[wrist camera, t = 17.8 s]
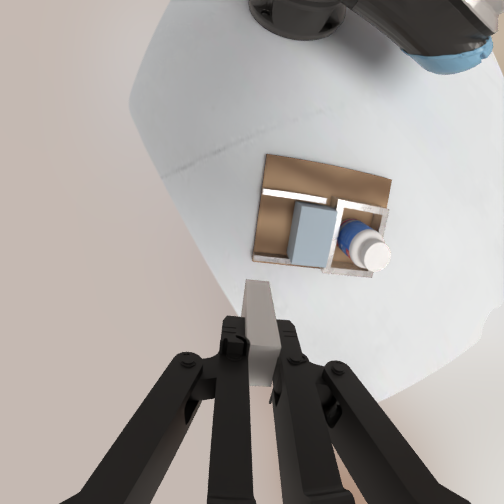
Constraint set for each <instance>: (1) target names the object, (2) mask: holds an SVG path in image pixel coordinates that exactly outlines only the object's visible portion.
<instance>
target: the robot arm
mask: <svg viewBox="0 0 504 504" xmlns="http://www.w3.org/2000/svg"><path fill="white" fill-rule="evenodd" d="M346 6H347V7H348V8H350V9H351V10H353V11H354V12H355V13H357V14H358V15H360V16H361V17H363V18H364V19H365V20H367V21H368V22H369V23H371V24H372V25H373V26H375V27H376V28H377V29H379V30H380V31H381V32H382V33H384V34H385V35H386V36H387V37H388V38H390V39H391V40H392V41H393V42H394V43H395V44H397V45H398V46H399V47H400V49H401V50H402V51H403V52H404V53H405V54H407V55H409V56H410V57H412V58H413V59H414V60H415V61H416V62H417V63H418V64H419V65H420V66H421V67H423V68H424V69H425V70H427V71H430V72H432V73H435V74H441V75H448V74H455V73H459V72H463V71H466V70H468V69H471V68H473V67H475V66H477V65H478V64H480V63H481V59H485V58H487V57H488V56H489V55H490V53H491V52H492V48H493V42H492V38H491V35H493V34H495V33H496V32H498V16H499V14H501V13H503V12H504V0H249V8H250V11H251V13H252V15H253V16H254V18H255V19H256V20H257V21H258V22H259V23H260V24H261V25H262V26H263V27H265V28H266V29H268V30H269V31H271V32H273V33H275V34H277V35H280V36H283V37H286V38H290V39H295V40H317V39H321V38H324V37H327V36H329V35H330V34H332V33H333V32H335V31H336V30H337V28H338V27H339V26H340V25H341V23H342V22H343V20H344V17H345V13H346ZM272 380H273V390H272V394H271V397H270V401H269V404H271V402H272V403H273V412H274V420H275V421H274V422H275V431H276V440H277V450H278V459H279V469H280V477H281V478H280V479H281V487H282V498H283V504H355V500H354V497H353V495H352V493H351V492H350V491H349V490H346V489H344V488H343V485H342V482H341V478H340V474H339V470H338V466H337V462H336V458H335V454H334V450H333V447H332V444H333V446H334V448H335V449H336V451H337V453H338V455H339V456H340V458H341V460H342V461H343V463H344V465H345V467H346V468H347V470H348V472H349V473H350V475H351V476H352V478H353V480H354V482H355V483H356V485H357V487H358V488H359V490H360V492H361V493H362V495H363V497H364V498H365V500H366V502H367V503H368V504H471V503H470V502H469V501H468V500H466V499H464V498H462V497H461V496H459V495H457V494H456V493H454V492H452V491H450V490H449V489H447V488H445V487H444V486H442V485H441V484H439V483H438V482H437V480H436V479H435V478H434V476H433V475H432V474H431V473H430V471H429V470H428V468H427V467H426V466H425V465H424V463H423V462H422V461H421V459H420V458H419V457H418V455H417V454H416V453H415V451H414V450H413V449H412V448H411V446H410V445H409V444H408V442H407V441H406V440H405V439H404V437H403V436H402V434H401V433H400V432H399V431H398V429H397V428H396V427H395V425H394V424H393V423H392V422H391V420H390V419H389V418H388V416H387V415H386V414H385V412H384V411H383V410H382V409H381V407H380V406H379V405H378V403H377V402H376V401H375V399H374V398H373V397H372V396H371V394H370V393H369V392H368V390H367V389H366V388H365V387H364V385H363V384H362V383H361V381H360V380H359V379H358V378H357V376H356V375H355V374H354V372H353V371H352V370H351V369H350V367H349V366H348V365H347V364H345V363H343V362H341V361H330V362H328V363H327V364H326V365H325V366H320V365H316V364H313V363H311V362H309V359H308V358H307V356H306V355H304V354H303V353H302V351H301V347H300V344H299V340H298V337H297V333H296V329H295V326H294V325H293V324H292V323H291V321H290V320H277V319H276V316H275V310H274V305H273V300H272V295H271V289H270V284H269V282H268V281H258V280H248V279H246V283H245V290H244V298H243V305H242V313H241V317H236V316H226V318H225V319H224V320H223V325H222V334H221V340H220V350H219V352H218V354H216V355H215V356H213V357H211V358H206V359H202V358H201V357H200V356H199V355H197V354H195V353H192V352H182V353H180V354H177V355H176V356H175V357H174V358H173V360H172V361H171V363H170V364H169V365H168V367H167V368H166V370H165V371H164V372H163V374H162V375H161V377H160V378H159V380H158V381H157V382H156V384H155V385H154V387H153V388H152V389H151V391H150V392H149V394H148V395H147V397H146V398H145V399H144V401H143V402H142V404H141V405H140V407H139V408H138V409H137V411H136V412H135V414H134V415H133V417H132V418H131V419H130V421H129V422H128V424H127V425H126V426H125V428H124V429H123V431H122V432H121V434H120V435H119V437H118V438H117V440H116V441H115V442H114V444H113V445H112V446H111V448H110V449H109V451H108V452H107V454H106V455H105V456H104V458H103V459H102V461H101V462H100V464H99V465H98V467H97V468H96V470H95V471H94V472H93V474H92V475H91V477H90V478H89V480H88V481H87V482H86V484H85V485H84V487H83V488H82V490H81V491H80V492H79V493H77V494H76V495H74V496H72V497H71V498H69V499H67V500H65V501H63V502H62V503H60V504H150V503H151V501H152V499H153V497H154V495H155V493H156V491H157V489H158V487H159V486H160V484H161V482H162V480H163V478H164V476H165V474H166V472H167V470H168V468H169V466H170V464H171V462H172V460H173V458H174V456H175V454H176V452H177V450H178V448H179V446H180V444H181V442H182V441H183V438H184V436H185V434H186V433H187V430H188V428H189V426H190V424H191V422H192V420H193V418H194V416H195V414H196V412H197V410H198V408H199V406H200V404H201V402H202V400H207V399H213V398H215V403H214V414H213V426H212V439H211V451H210V465H209V466H210V467H209V479H208V495H207V504H256V500H255V499H254V496H253V476H252V453H251V425H250V397H249V386H267V387H271V384H272Z"/></svg>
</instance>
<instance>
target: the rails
mask: <svg viewBox="0 0 504 504" xmlns="http://www.w3.org/2000/svg"><path fill="white" fill-rule="evenodd" d="M262 194H263V195H271V196H278V197H285V198H292V199H299V200H305V201H311V202H318V203H324V204H326V200H327V198H325V197H322V196H316V195H310V194H304V193H298V192H291V191H285V190H278V189H270V188H263V189H262ZM253 260H254V261H264V262H273V263H282V264H291V262H290V260H289V257H288V255H280V254H272V253H263V252H254V254H253ZM292 265H295V264H292ZM301 266H304V265H301ZM311 267H313V266H311Z"/></svg>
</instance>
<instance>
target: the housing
mask: <svg viewBox="0 0 504 504" xmlns="http://www.w3.org/2000/svg"><path fill="white" fill-rule="evenodd" d="M337 214H338V211H336V210H334V209H333V208H331V207H329V206H327V205H321V204H315V203H308V202H302V201H295V206H294V213H293V219H292V224H291V230H290V236H289V242H288V247H287V255H288V257H289V260H290V262H291V264H295V265H304V266H314V267H323V268H326V265H327V261H328V257H329V252H330V248H331V243H332V239H333V234H334V229H335V224H336V219H337Z"/></svg>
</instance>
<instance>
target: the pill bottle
mask: <svg viewBox="0 0 504 504" xmlns="http://www.w3.org/2000/svg"><path fill="white" fill-rule="evenodd" d="M336 244H337V246H338V247H339V248H340V249H341V250H342V251H343V252H344V253H345V254H346V255H347V256H348V257H349V258H350V259H351V260H352V262H353V263H354V264H356V265H357V266H359V267H361V268H367V269H368V270H369V271H372V272H378V271H381V270H382V269H384V268H385V267H386V266H387V265H388V263H389V261H390V258H391V251H390V248H389V246H388V245H387V244H385V241H384V238H383V237H382V235H381V234H380V233H379V232H377V231H375V230H374V229H372V228H371V227H369V226H367V225H366V224H364V223H363V222H361V221H359V220H357V219H353V218H351V219H346V220H344V221H343V222H341V224H340V229H339V233H338V238H337V242H336Z"/></svg>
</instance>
